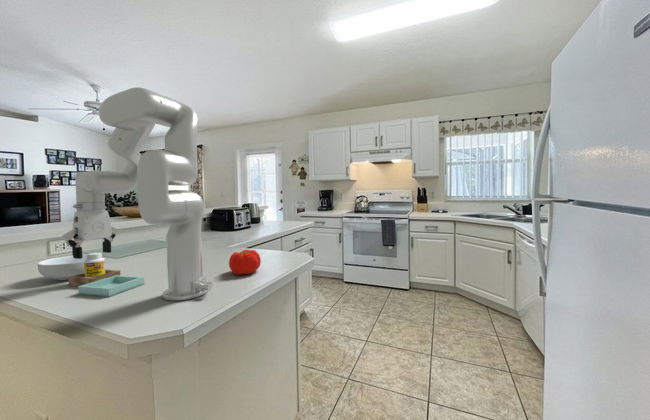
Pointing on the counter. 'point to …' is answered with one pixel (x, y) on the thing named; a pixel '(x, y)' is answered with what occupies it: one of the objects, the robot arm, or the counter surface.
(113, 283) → the tray
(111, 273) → the socket block
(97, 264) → the supplement bottle
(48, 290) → the counter surface
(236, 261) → the tomato
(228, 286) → the counter surface
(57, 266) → the cereal bowl
